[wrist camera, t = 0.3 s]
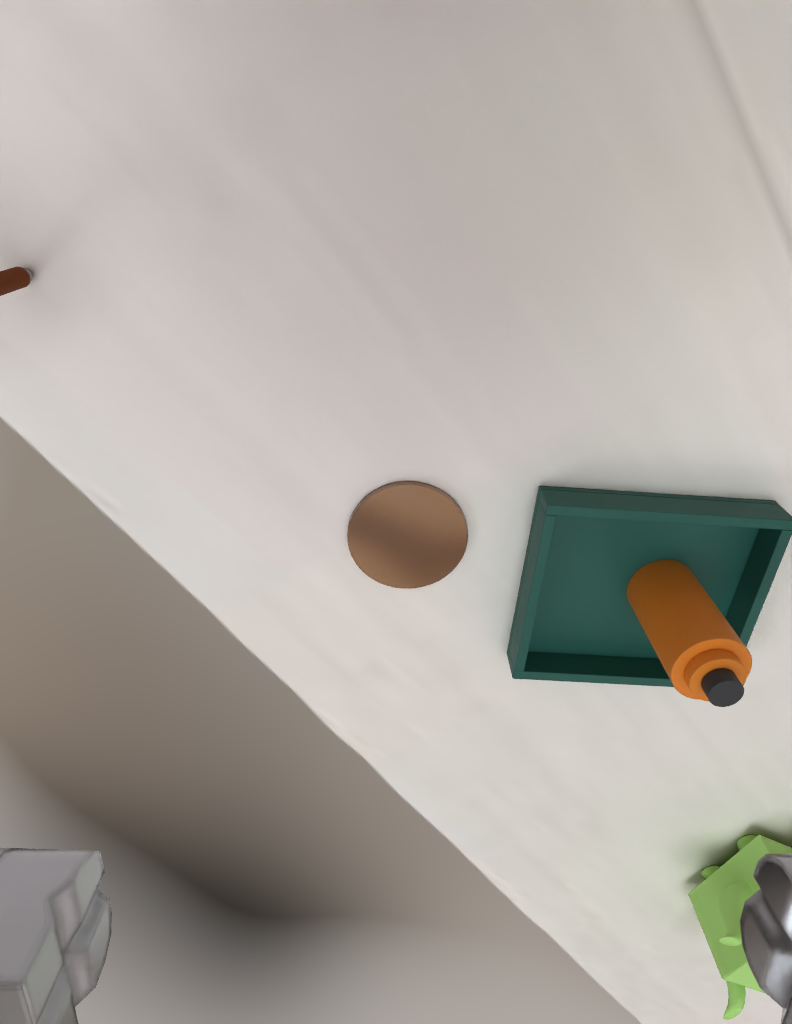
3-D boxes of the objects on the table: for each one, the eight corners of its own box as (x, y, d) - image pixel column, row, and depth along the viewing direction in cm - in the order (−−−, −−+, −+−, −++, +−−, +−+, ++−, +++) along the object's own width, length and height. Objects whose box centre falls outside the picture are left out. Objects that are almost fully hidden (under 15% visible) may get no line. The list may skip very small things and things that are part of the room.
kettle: (685, 918, 74) (730, 1036, 64) (666, 838, 67) (713, 956, 57) (827, 891, 71) (897, 1009, 61) (821, 806, 65) (898, 922, 55)
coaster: (350, 477, 48) (349, 480, 48) (474, 485, 48) (475, 488, 48) (345, 581, 52) (345, 585, 52) (459, 587, 53) (460, 592, 52)
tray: (538, 485, 48) (547, 505, 46) (775, 500, 49) (797, 520, 46) (506, 653, 56) (512, 678, 53) (712, 664, 56) (728, 689, 54)
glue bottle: (635, 557, 51) (697, 659, 40) (702, 561, 51) (781, 664, 41) (619, 612, 53) (674, 722, 43) (683, 616, 53) (753, 726, 43)
